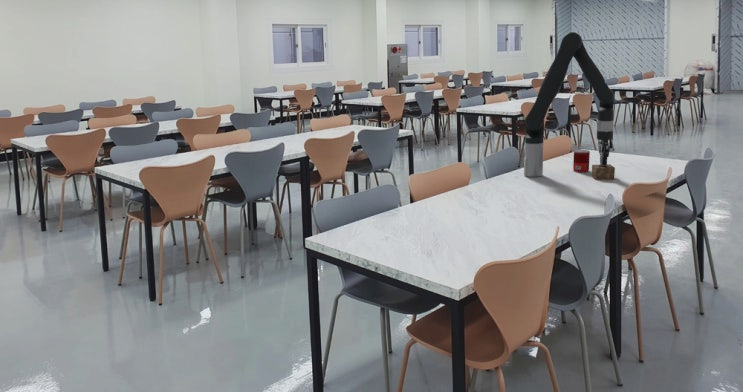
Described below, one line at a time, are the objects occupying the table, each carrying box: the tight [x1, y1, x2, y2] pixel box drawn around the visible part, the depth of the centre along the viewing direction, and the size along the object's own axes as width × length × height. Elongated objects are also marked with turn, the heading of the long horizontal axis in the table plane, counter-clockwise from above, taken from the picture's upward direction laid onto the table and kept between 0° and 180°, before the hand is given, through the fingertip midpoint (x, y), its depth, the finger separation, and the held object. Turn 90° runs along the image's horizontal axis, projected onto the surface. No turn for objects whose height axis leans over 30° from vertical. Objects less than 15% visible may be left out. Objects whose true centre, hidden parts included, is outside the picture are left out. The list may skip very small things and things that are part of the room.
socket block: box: [591, 163, 616, 181], centre depth 325 cm, size 9×9×6 cm
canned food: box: [572, 149, 591, 173], centre depth 343 cm, size 8×8×11 cm
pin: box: [599, 153, 607, 167], centre depth 324 cm, size 3×3×12 cm
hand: (603, 163), depth 324 cm, fingers open, 4 cm apart
